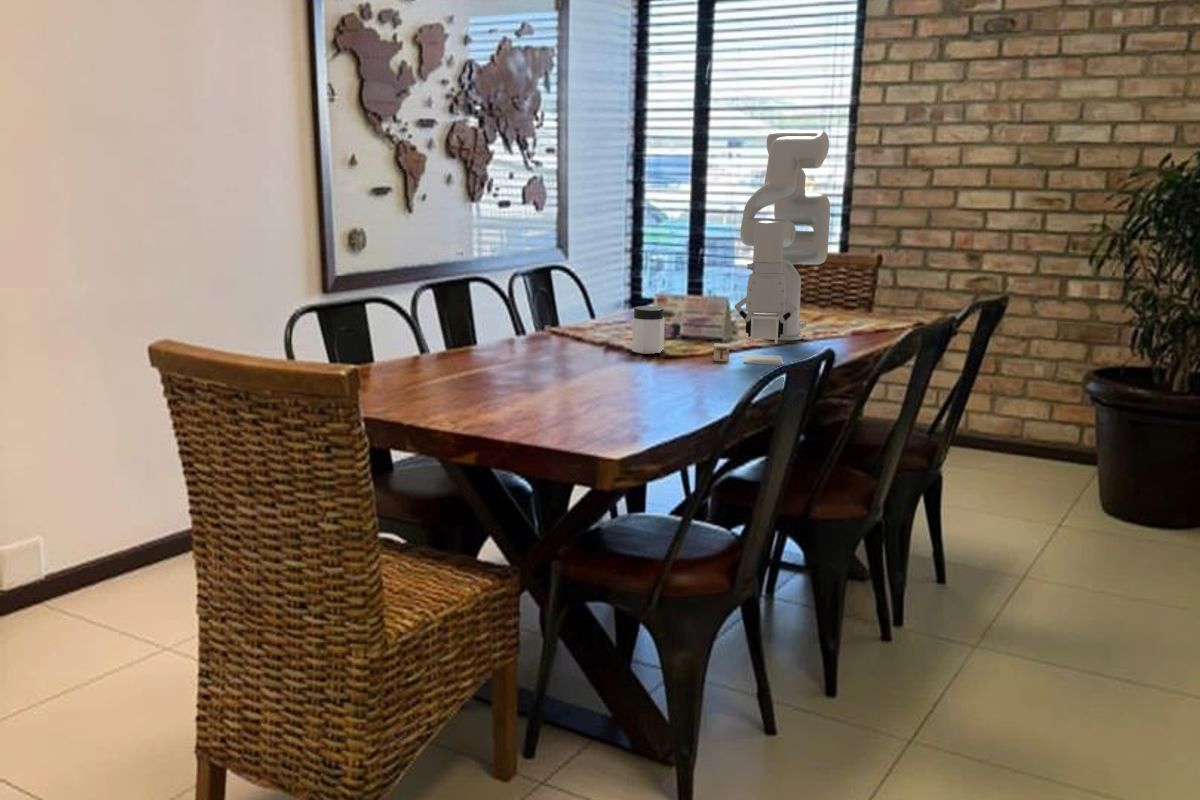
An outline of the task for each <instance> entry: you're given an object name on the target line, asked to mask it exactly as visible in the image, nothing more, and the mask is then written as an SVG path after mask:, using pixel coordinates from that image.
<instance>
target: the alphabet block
mask: <svg viewBox="0 0 1200 800" xmlns="http://www.w3.org/2000/svg"><path fill="white" fill-rule="evenodd" d="M778 324H779V316H777V314H776V313H754V314H753V315H752V317H751V336H750V337H749V338H750V341H749V343H751V344H753V342H754V340H771V341H774V344H775V345H776V344H778V343H779V342H778V341H779V340H778Z"/></svg>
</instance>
